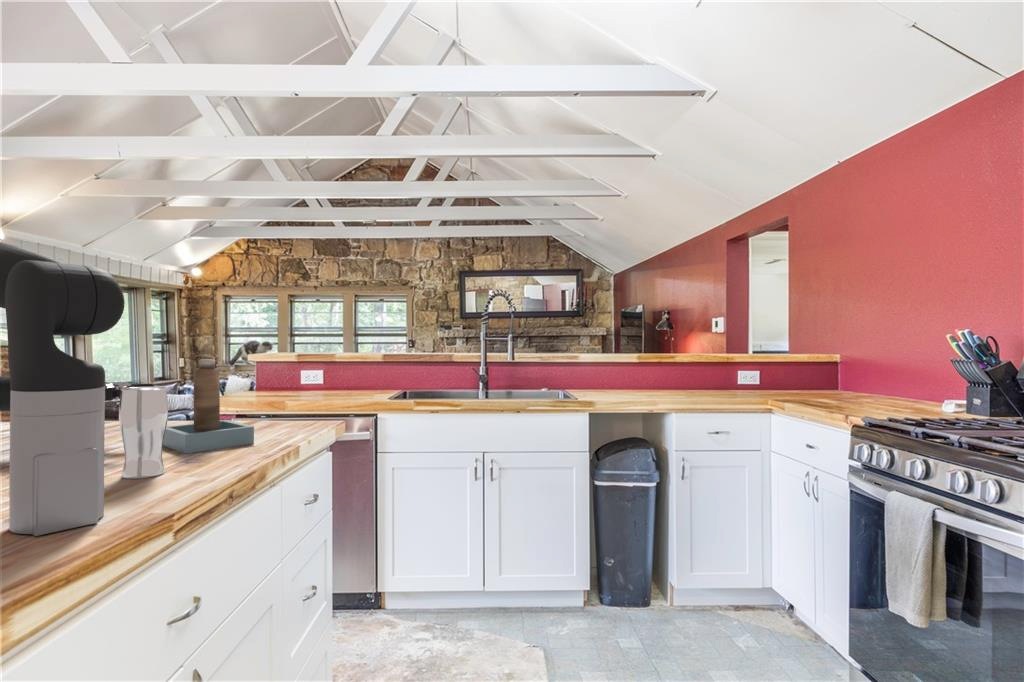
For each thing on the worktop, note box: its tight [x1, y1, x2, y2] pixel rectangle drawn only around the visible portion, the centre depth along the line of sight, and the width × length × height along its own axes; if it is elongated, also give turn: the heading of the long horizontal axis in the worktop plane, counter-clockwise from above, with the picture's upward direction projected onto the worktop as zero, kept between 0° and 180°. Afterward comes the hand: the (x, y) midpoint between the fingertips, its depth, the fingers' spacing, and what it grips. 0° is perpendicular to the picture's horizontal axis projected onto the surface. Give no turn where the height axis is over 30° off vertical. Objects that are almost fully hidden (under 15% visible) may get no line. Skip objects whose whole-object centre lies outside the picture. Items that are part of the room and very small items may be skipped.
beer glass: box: [118, 385, 169, 480], centre depth 91 cm, size 7×7×15 cm
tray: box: [162, 419, 255, 454], centre depth 117 cm, size 14×14×4 cm
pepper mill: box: [193, 358, 221, 433], centre depth 117 cm, size 5×5×18 cm
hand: (148, 390), depth 113 cm, fingers open, 8 cm apart
